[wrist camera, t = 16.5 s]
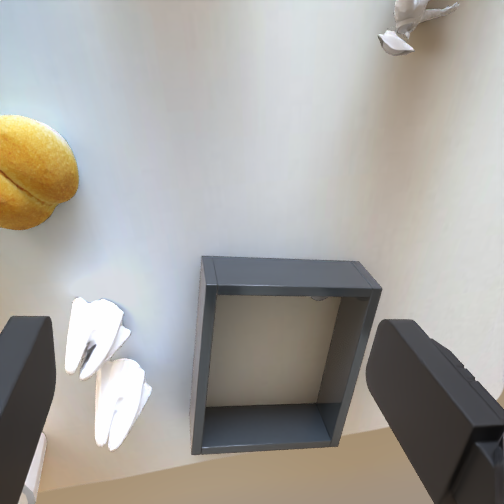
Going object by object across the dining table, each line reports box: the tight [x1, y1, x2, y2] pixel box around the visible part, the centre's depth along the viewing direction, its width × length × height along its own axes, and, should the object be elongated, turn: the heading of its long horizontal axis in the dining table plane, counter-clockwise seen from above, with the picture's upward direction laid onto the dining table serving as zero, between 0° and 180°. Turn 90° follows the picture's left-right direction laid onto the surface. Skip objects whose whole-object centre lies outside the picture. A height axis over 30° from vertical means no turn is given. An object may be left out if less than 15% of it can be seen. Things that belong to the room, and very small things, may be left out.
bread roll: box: [0, 115, 79, 230], centre depth 33 cm, size 8×9×4 cm
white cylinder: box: [18, 432, 47, 504], centre depth 43 cm, size 7×7×7 cm
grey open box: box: [189, 256, 382, 455], centre depth 44 cm, size 16×20×6 cm
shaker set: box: [65, 297, 152, 452], centre depth 38 cm, size 12×4×11 cm, turn 12°
